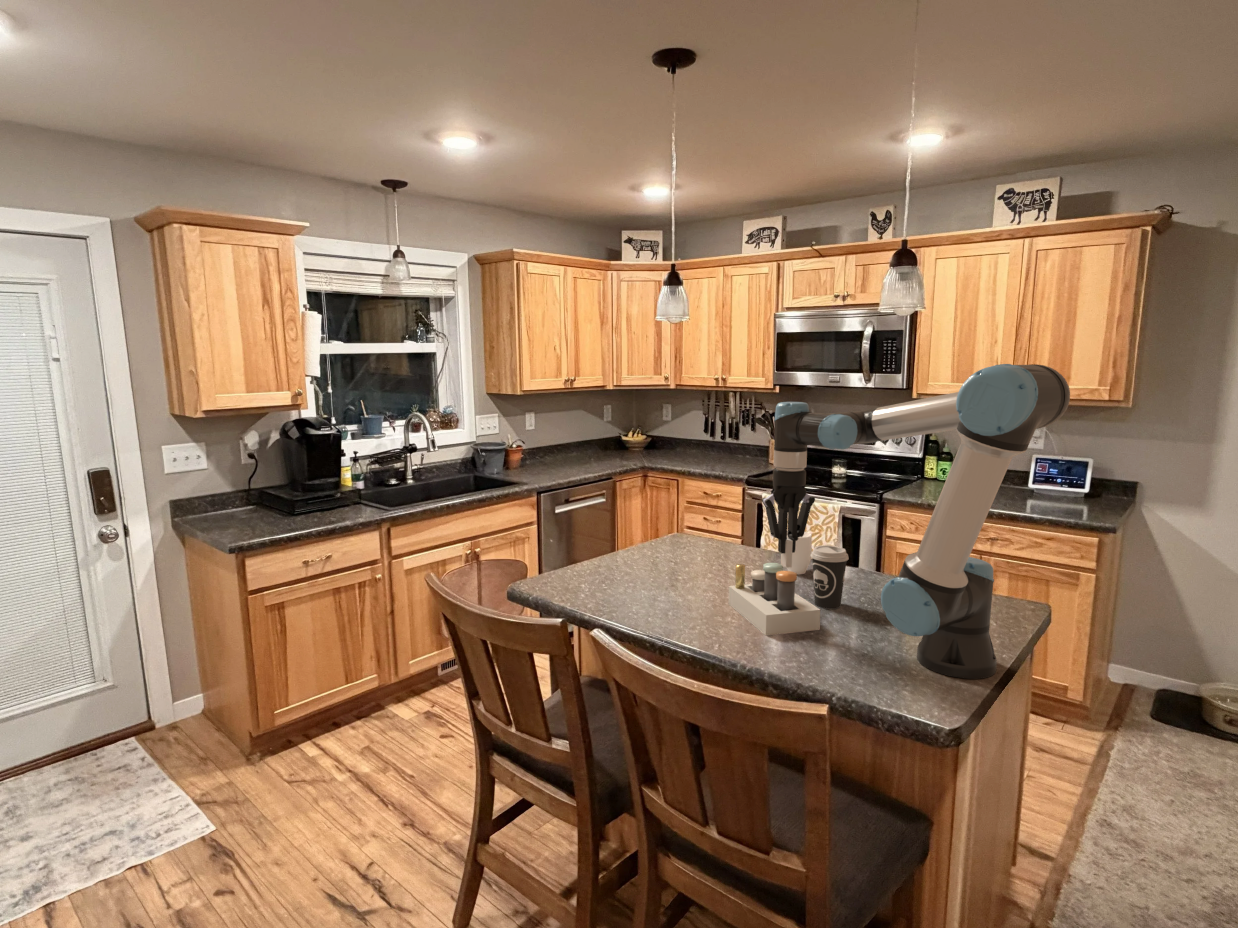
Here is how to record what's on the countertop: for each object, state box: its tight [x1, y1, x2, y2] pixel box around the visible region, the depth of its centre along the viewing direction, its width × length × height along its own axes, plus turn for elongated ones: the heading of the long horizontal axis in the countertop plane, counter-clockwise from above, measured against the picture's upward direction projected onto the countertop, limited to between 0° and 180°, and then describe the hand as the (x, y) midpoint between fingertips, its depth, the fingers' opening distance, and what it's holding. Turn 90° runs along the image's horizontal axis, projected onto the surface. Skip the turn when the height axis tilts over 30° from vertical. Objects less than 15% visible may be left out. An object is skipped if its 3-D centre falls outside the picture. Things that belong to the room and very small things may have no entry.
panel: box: [728, 583, 821, 637], centre depth 173 cm, size 22×14×5 cm, turn 14°
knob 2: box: [762, 562, 784, 601], centre depth 172 cm, size 5×5×9 cm
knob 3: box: [776, 570, 798, 611], centre depth 166 cm, size 5×5×9 cm
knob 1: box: [750, 569, 765, 592], centre depth 180 cm, size 5×5×9 cm
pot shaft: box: [734, 563, 746, 589], centre depth 180 cm, size 2×2×6 cm
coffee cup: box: [810, 544, 849, 610], centre depth 181 cm, size 10×10×15 cm
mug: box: [786, 530, 813, 575], centre depth 210 cm, size 12×9×12 cm
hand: (786, 565), depth 165 cm, fingers closed
